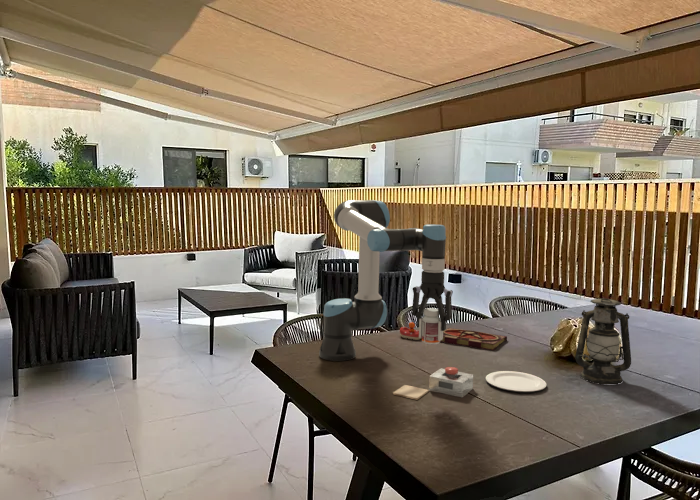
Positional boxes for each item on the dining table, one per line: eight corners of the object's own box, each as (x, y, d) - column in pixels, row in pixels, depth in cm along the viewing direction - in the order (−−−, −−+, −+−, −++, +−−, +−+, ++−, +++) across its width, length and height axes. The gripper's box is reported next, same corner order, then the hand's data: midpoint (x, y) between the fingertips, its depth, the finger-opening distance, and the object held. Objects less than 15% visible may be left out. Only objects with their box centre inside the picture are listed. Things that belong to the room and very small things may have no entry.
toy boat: (404, 334, 254) (404, 319, 253) (425, 338, 248) (426, 322, 247) (396, 337, 248) (397, 322, 247) (418, 341, 241) (419, 325, 241)
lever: (442, 387, 179) (443, 369, 179) (447, 383, 183) (448, 366, 182) (454, 389, 177) (455, 371, 176) (459, 385, 181) (460, 368, 180)
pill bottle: (443, 343, 176) (444, 310, 175) (430, 346, 172) (431, 312, 171) (430, 338, 181) (432, 306, 180) (417, 341, 177) (418, 308, 176)
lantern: (626, 375, 197) (631, 297, 194) (636, 392, 179) (641, 306, 176) (572, 369, 203) (576, 293, 200) (576, 385, 185) (581, 302, 182)
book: (506, 342, 245) (507, 332, 245) (493, 352, 227) (493, 340, 227) (449, 333, 260) (450, 324, 260) (432, 342, 242) (433, 331, 242)
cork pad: (392, 394, 175) (392, 392, 175) (404, 386, 182) (404, 384, 182) (417, 400, 170) (417, 398, 170) (428, 391, 177) (428, 390, 177)
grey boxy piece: (428, 390, 179) (429, 376, 178) (440, 381, 187) (440, 368, 187) (462, 397, 172) (462, 383, 172) (472, 388, 181) (473, 374, 180)
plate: (515, 399, 172) (515, 394, 172) (473, 380, 191) (473, 375, 191) (559, 389, 182) (559, 385, 182) (515, 372, 200) (515, 367, 200)
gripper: (402, 269, 176) (400, 336, 178) (456, 274, 166) (454, 345, 168) (411, 267, 182) (409, 331, 185) (464, 272, 172) (461, 340, 175)
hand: (430, 338), depth 176 cm, fingers closed on pill bottle, 6 cm apart
